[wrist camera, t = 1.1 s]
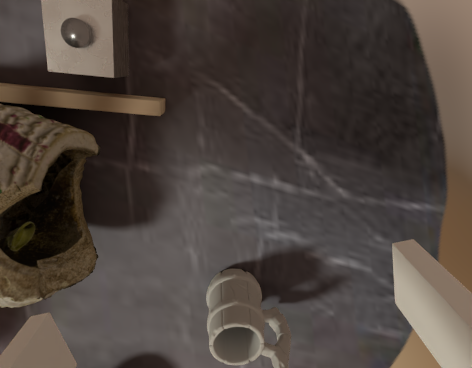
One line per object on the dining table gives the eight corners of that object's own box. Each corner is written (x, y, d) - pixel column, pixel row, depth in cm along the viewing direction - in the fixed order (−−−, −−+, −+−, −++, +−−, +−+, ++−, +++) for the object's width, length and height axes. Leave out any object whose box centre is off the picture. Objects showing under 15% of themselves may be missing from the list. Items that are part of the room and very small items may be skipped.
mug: (220, 258, 44) (220, 324, 33) (295, 287, 46) (319, 358, 35) (197, 299, 46) (190, 375, 35) (270, 325, 48) (284, 404, 37)
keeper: (73, 70, 35) (43, 71, 29) (68, -3, 33) (34, -18, 27) (129, 76, 35) (111, 78, 30) (128, 4, 33) (108, -9, 27)
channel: (-68, 90, 35) (-123, 95, 29) (-101, -64, 30) (-175, -94, 24) (165, 111, 37) (155, 119, 31) (168, -31, 32) (157, -51, 26)
